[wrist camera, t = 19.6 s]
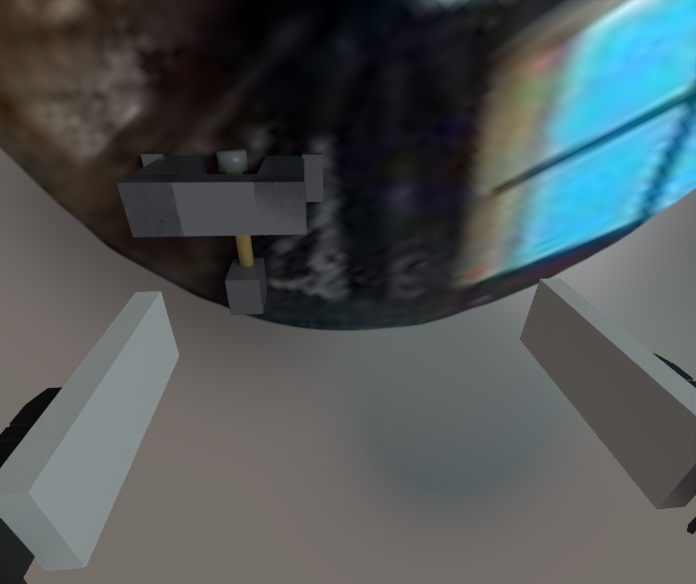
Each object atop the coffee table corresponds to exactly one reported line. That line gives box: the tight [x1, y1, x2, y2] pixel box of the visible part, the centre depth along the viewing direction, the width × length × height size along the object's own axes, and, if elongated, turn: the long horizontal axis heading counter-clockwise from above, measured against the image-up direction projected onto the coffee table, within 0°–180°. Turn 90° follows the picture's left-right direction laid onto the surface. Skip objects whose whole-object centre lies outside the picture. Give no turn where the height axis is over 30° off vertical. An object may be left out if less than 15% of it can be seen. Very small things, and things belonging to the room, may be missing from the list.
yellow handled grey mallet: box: [216, 148, 267, 315], centre depth 44 cm, size 19×4×6 cm, turn 179°
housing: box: [117, 153, 323, 237], centre depth 38 cm, size 6×20×12 cm, turn 89°
